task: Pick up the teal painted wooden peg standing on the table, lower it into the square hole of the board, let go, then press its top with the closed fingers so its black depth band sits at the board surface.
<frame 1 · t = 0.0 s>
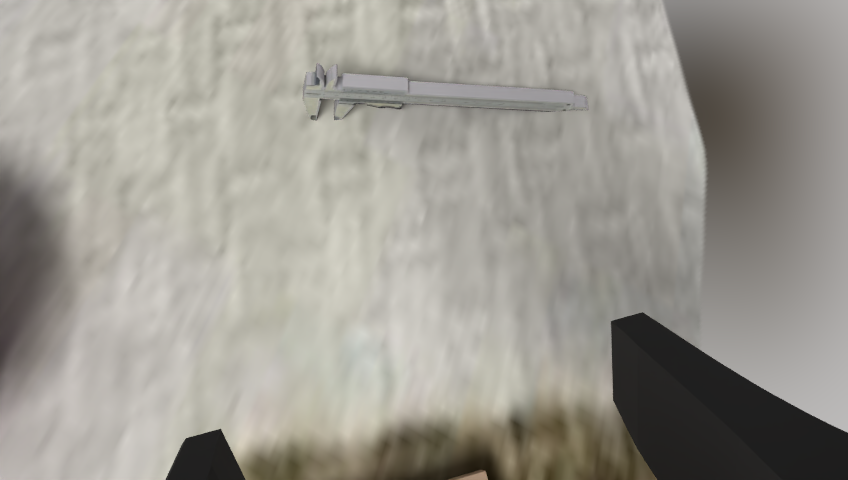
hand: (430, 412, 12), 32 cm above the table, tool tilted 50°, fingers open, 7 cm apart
caliper: (448, 112, 51), on the table
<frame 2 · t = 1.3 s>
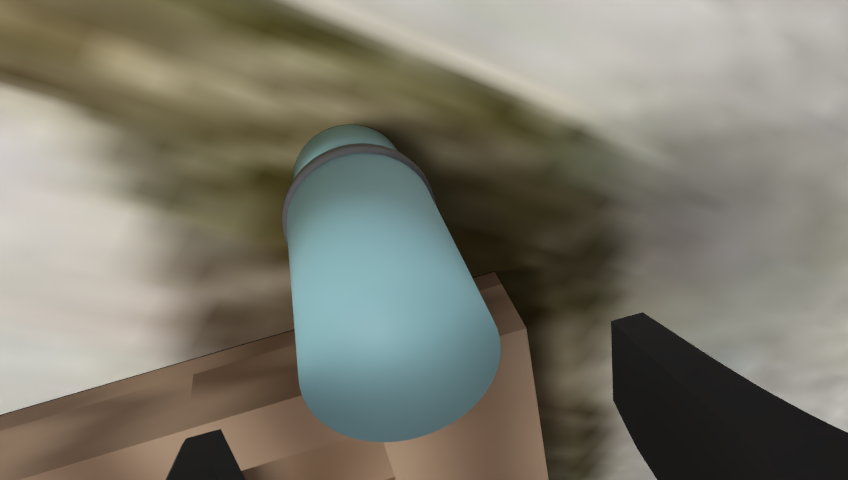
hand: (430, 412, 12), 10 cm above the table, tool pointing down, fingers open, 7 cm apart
board: (303, 475, 27), on the table
peg: (349, 177, 21), on the table
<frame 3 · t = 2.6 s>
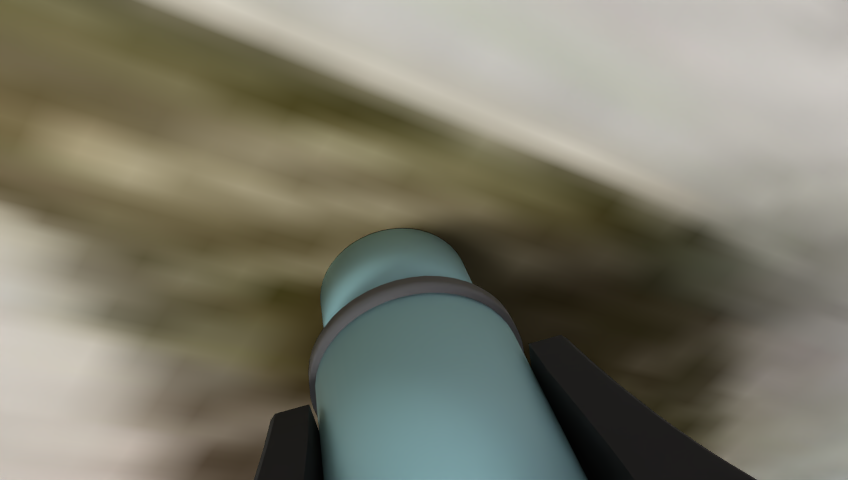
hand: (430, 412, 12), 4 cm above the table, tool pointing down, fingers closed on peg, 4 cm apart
peg: (395, 293, 15), on the table, touching gripper
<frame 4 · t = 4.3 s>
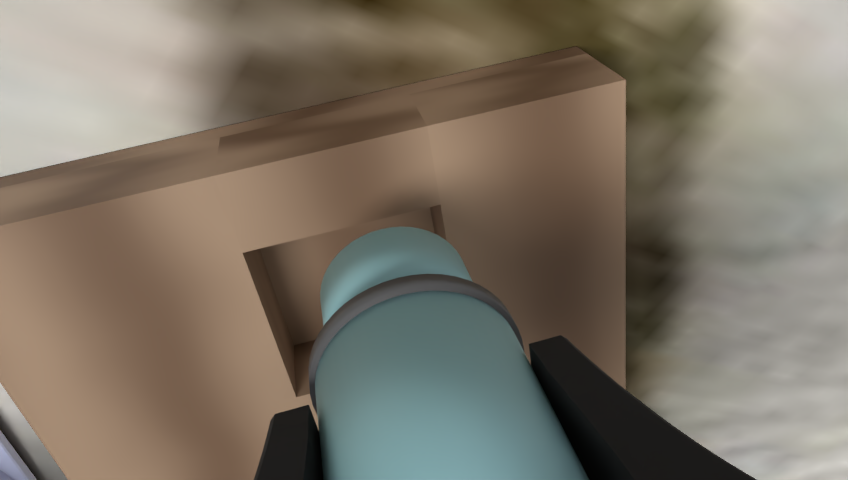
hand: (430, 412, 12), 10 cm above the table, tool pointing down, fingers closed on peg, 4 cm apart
board: (336, 302, 23), on the table
peg: (395, 291, 15), point 6 cm above the table, touching gripper
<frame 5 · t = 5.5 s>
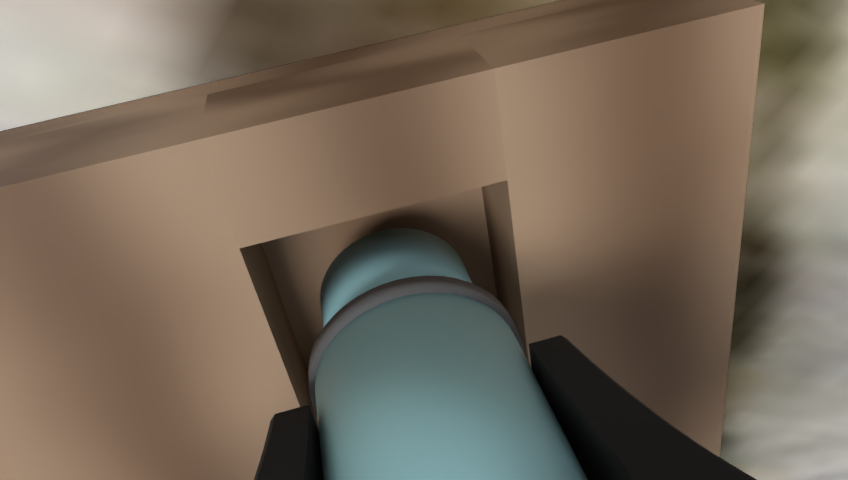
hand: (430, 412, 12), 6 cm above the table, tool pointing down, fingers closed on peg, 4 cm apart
board: (358, 312, 18), on the table
peg: (395, 293, 15), point 2 cm above the table, touching gripper
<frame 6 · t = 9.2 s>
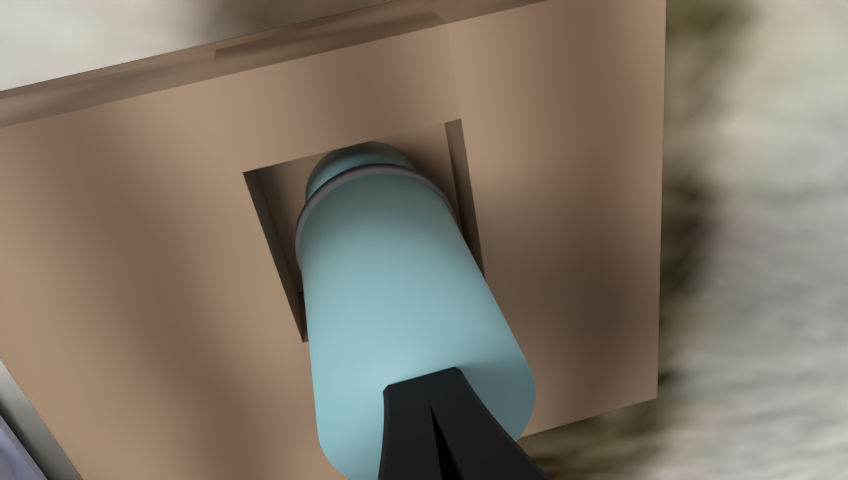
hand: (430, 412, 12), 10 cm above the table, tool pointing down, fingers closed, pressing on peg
board: (344, 247, 21), on the table
peg: (363, 195, 20), point 1 cm above the table, touching board, gripper
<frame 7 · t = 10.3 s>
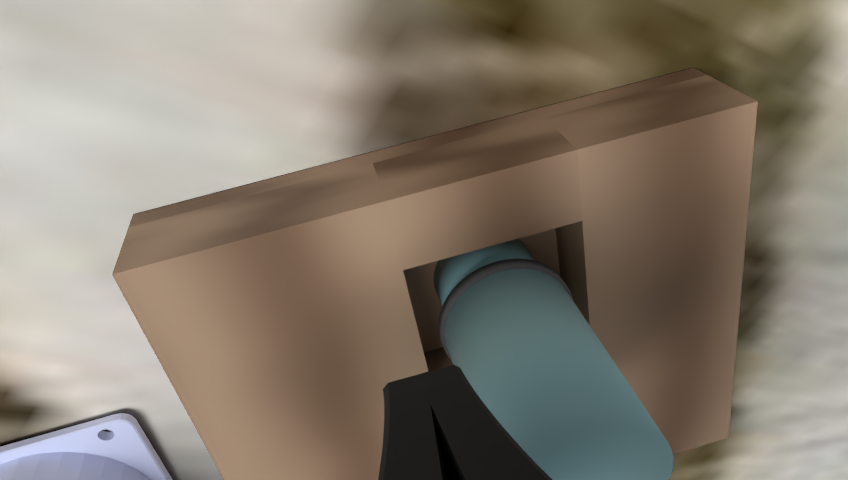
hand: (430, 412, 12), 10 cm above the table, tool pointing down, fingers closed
board: (458, 312, 24), on the table
peg: (482, 272, 23), point 1 cm above the table, touching board
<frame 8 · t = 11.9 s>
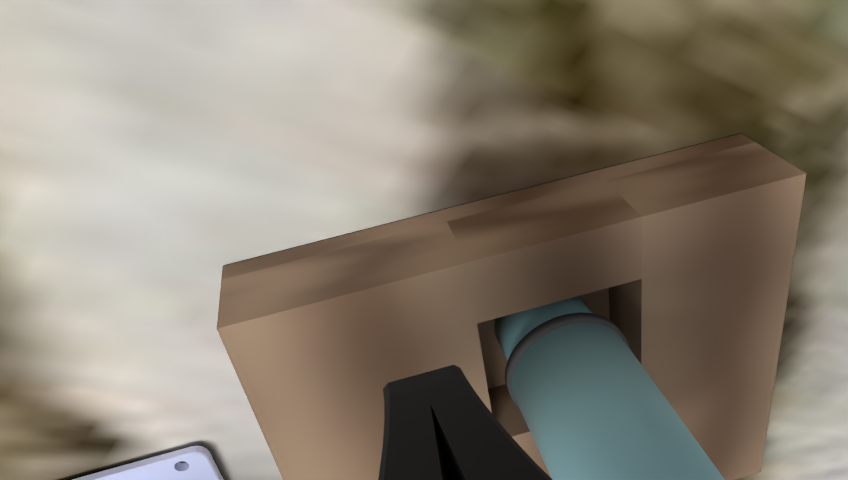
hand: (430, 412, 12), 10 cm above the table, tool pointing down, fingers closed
board: (511, 352, 26), on the table
peg: (539, 318, 24), point 1 cm above the table, touching board
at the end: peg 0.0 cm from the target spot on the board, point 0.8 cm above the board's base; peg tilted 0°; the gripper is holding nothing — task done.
